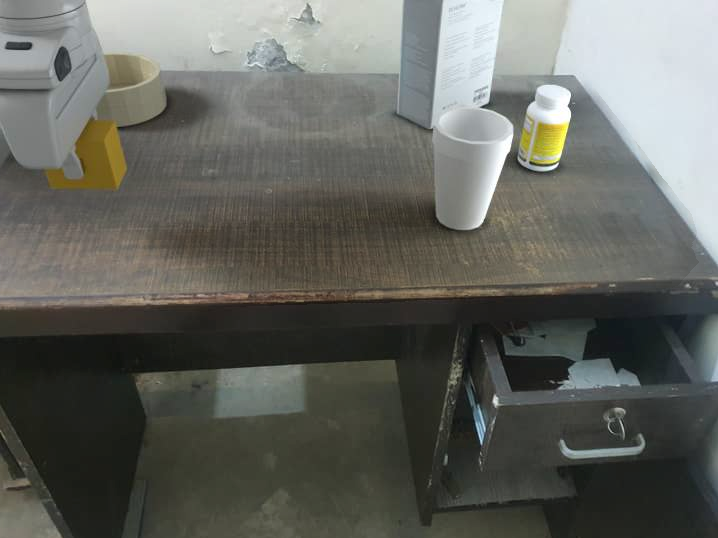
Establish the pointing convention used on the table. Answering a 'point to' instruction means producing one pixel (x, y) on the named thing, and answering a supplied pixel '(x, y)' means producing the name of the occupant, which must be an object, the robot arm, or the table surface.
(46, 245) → the table surface
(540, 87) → the pill bottle
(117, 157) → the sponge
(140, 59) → the bowl
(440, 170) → the foam cup
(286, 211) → the table surface
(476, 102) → the hard drive box
